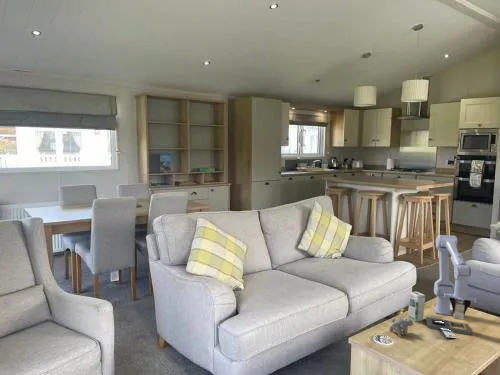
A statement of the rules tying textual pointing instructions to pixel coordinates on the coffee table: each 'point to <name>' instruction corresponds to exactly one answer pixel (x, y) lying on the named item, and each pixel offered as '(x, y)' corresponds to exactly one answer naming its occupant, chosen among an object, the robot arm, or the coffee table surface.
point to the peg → (459, 310)
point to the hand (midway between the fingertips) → (458, 313)
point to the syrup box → (416, 306)
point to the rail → (449, 325)
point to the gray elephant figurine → (401, 325)
